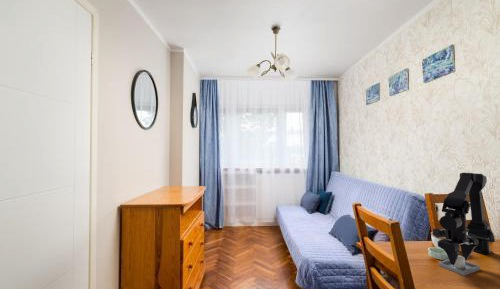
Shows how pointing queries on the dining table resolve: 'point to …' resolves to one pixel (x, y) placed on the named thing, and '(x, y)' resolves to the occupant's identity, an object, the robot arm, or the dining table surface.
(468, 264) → the parts tray
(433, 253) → the bowl
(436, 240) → the lidded jar
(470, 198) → the robot arm
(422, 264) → the dining table surface
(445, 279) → the dining table surface
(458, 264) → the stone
